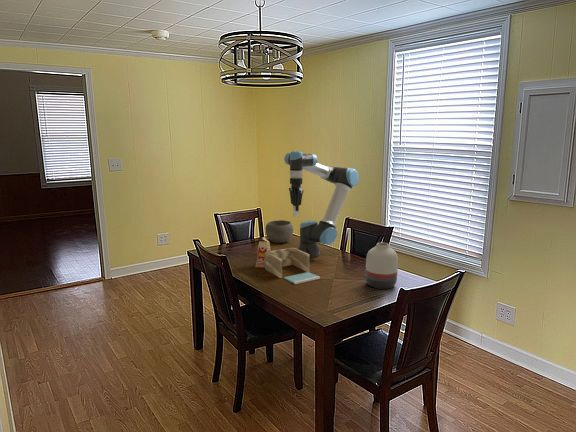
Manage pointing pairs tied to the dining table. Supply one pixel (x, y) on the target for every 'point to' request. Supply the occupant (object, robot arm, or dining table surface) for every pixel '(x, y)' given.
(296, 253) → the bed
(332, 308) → the dining table surface
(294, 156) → the robot arm
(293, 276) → the light blue flat panel
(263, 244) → the milk carton
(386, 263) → the vase
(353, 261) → the dining table surface
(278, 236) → the bowl
